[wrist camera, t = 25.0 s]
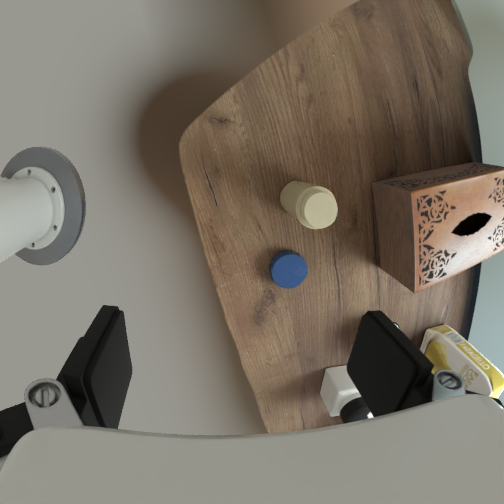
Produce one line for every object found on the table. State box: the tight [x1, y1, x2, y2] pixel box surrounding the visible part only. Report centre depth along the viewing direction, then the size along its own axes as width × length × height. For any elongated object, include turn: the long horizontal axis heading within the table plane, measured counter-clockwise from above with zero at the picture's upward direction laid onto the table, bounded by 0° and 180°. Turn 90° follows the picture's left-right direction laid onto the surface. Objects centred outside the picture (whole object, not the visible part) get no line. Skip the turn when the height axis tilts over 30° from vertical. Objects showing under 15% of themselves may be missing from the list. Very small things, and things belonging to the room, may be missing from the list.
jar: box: [280, 180, 338, 229], centre depth 35 cm, size 5×5×9 cm
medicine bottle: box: [320, 365, 373, 424], centre depth 47 cm, size 7×7×12 cm
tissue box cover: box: [372, 162, 504, 294], centre depth 39 cm, size 26×14×10 cm, turn 104°
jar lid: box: [269, 251, 307, 288], centre depth 42 cm, size 5×5×2 cm
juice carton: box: [420, 325, 504, 399], centre depth 42 cm, size 9×8×24 cm
